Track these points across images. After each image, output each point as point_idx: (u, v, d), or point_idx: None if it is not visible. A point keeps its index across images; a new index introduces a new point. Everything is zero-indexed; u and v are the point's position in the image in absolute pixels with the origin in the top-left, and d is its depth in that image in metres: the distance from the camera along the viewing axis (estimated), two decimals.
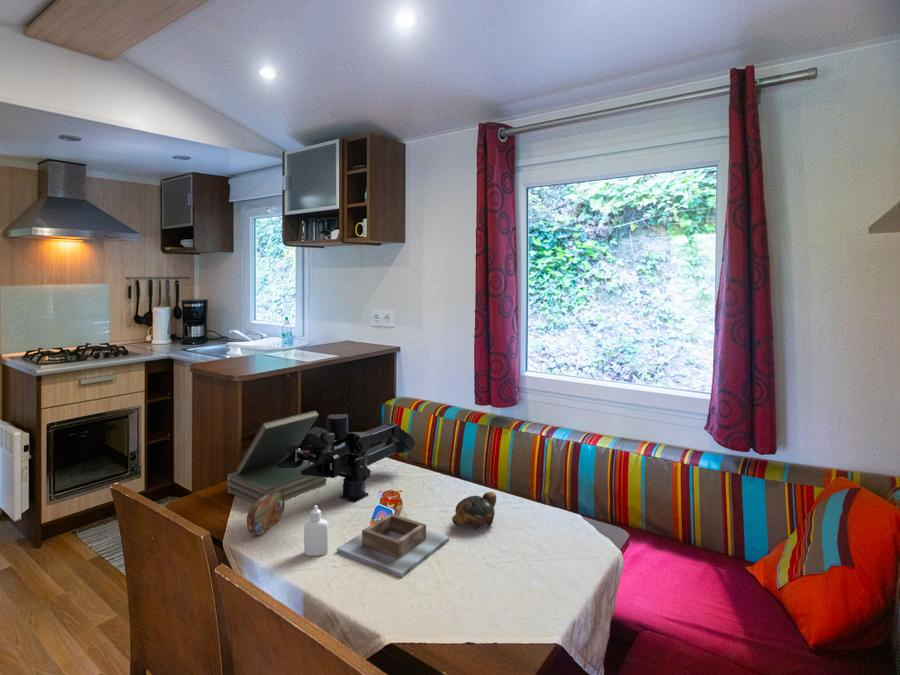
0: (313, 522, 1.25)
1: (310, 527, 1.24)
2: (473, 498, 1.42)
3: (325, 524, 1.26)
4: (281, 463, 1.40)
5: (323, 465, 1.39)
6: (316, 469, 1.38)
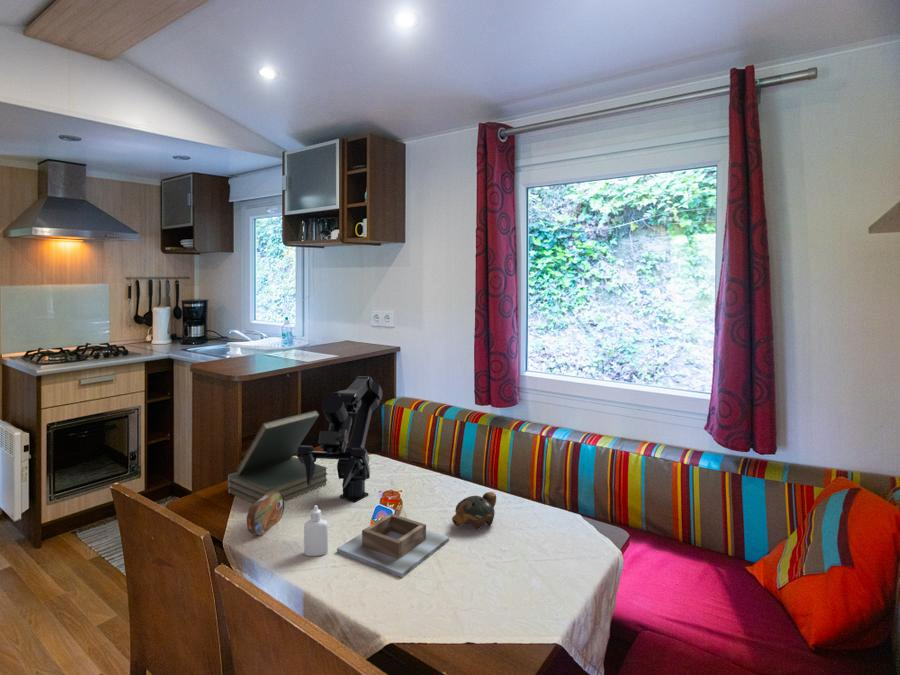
0: (313, 522, 1.25)
1: (310, 527, 1.24)
2: (473, 498, 1.42)
3: (325, 524, 1.26)
4: (310, 479, 1.34)
5: (354, 463, 1.37)
6: (351, 472, 1.36)
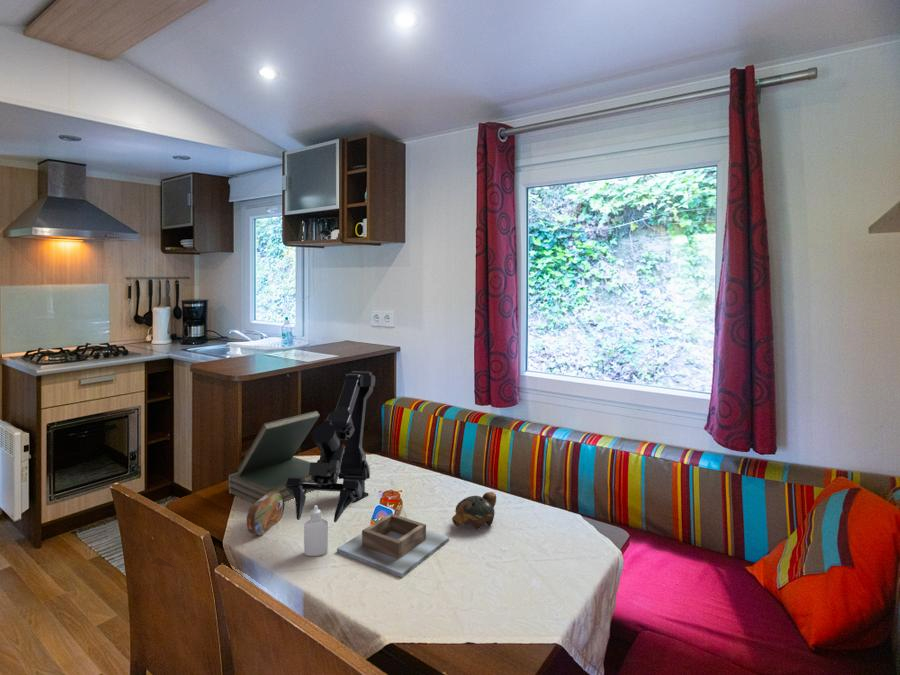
0: (313, 522, 1.25)
1: (310, 527, 1.24)
2: (473, 498, 1.42)
3: (325, 524, 1.26)
4: (299, 513, 1.27)
5: None
6: (343, 504, 1.29)
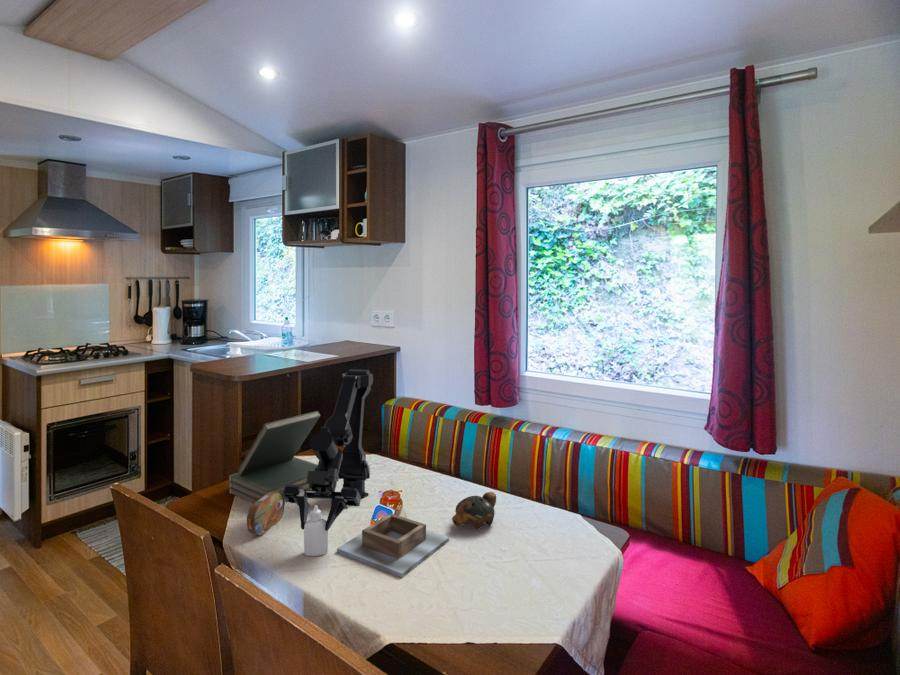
0: (313, 522, 1.25)
1: (310, 527, 1.24)
2: (473, 498, 1.42)
3: (325, 524, 1.26)
4: (304, 522, 1.26)
5: None
6: (334, 513, 1.27)
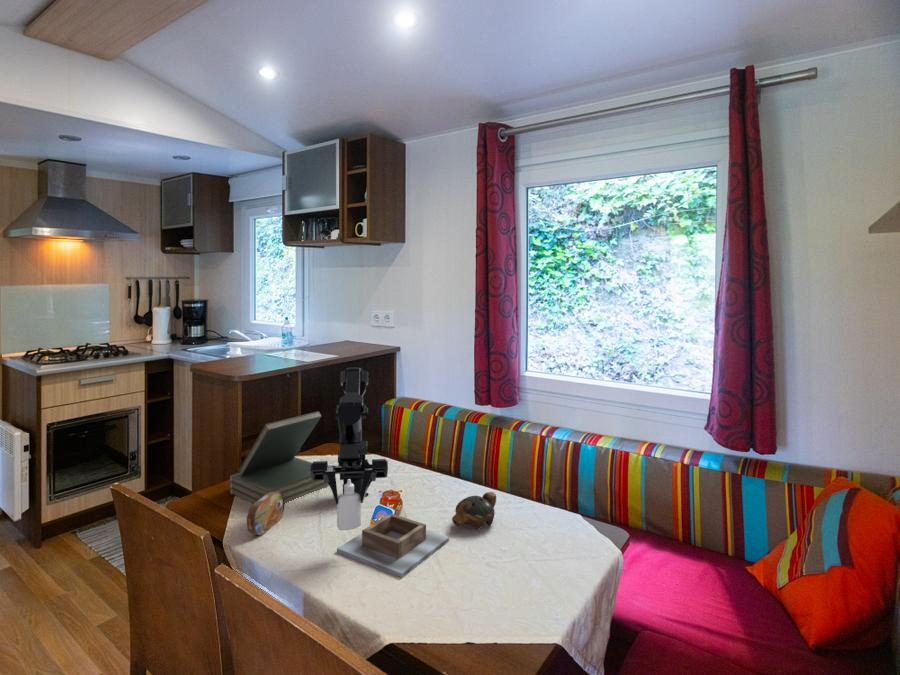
0: (348, 496, 1.24)
1: (345, 501, 1.24)
2: (473, 498, 1.42)
3: (359, 497, 1.26)
4: (337, 497, 1.25)
5: None
6: (366, 485, 1.28)
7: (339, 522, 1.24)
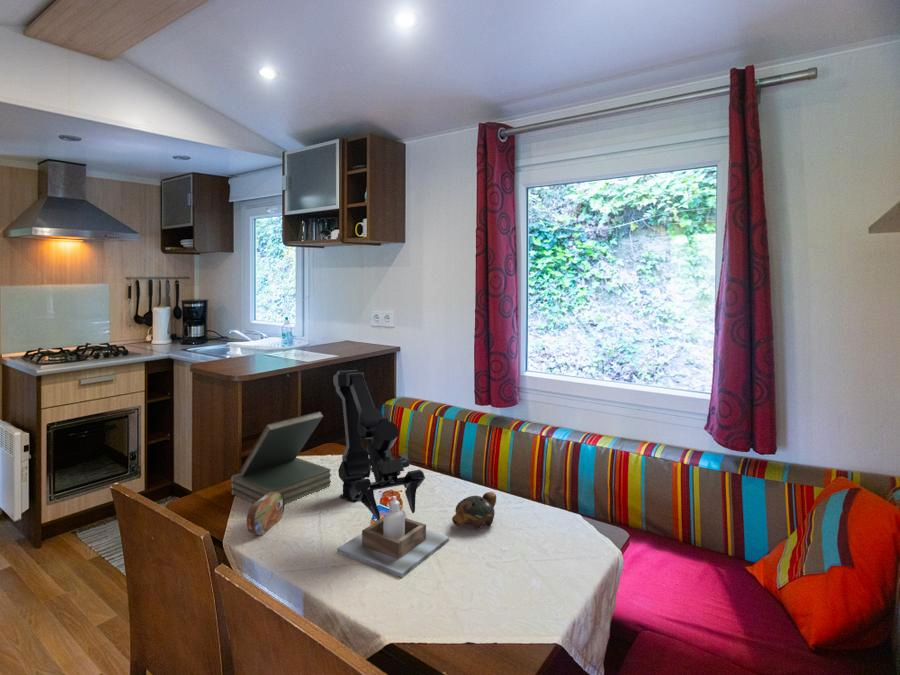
0: (395, 512, 1.28)
1: (394, 518, 1.28)
2: (473, 498, 1.42)
3: (403, 512, 1.31)
4: None
5: None
6: None
7: None
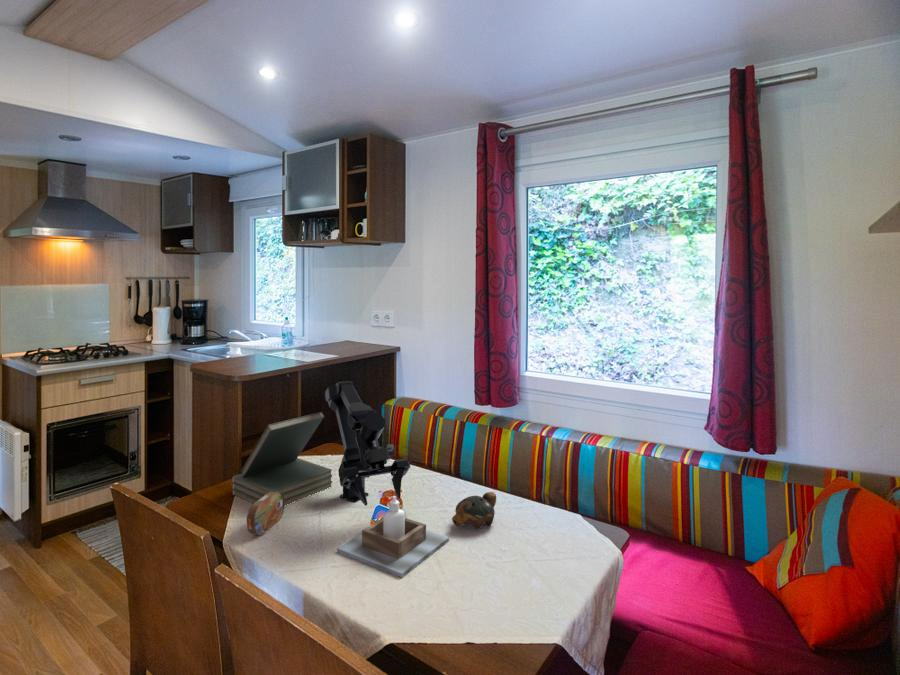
0: (395, 512, 1.28)
1: (394, 518, 1.28)
2: (473, 498, 1.42)
3: (403, 512, 1.31)
4: None
5: None
6: None
7: None
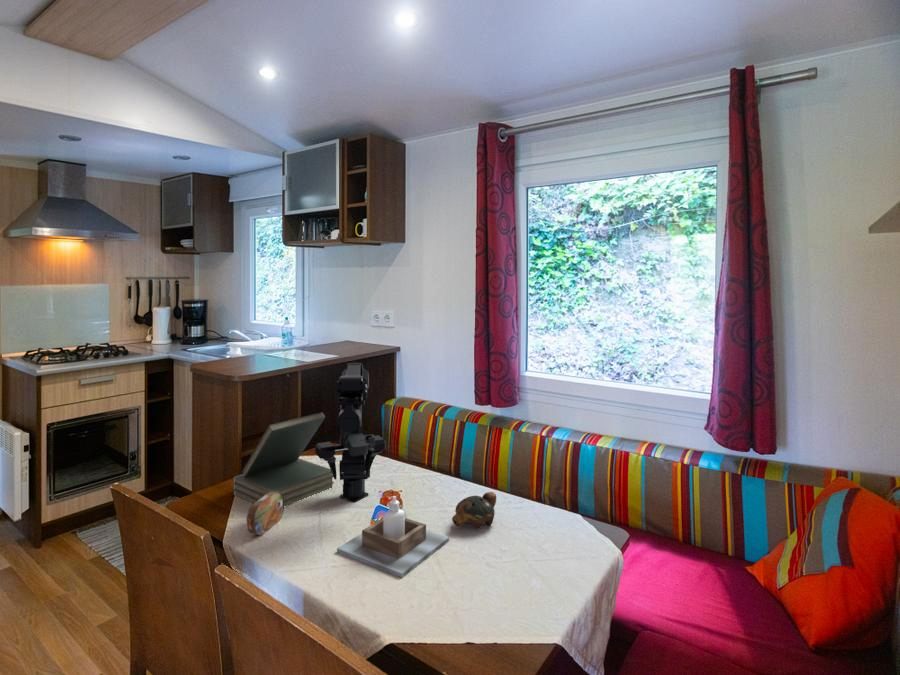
0: (395, 512, 1.28)
1: (394, 518, 1.28)
2: (473, 498, 1.42)
3: (403, 512, 1.31)
4: None
5: None
6: None
7: None
